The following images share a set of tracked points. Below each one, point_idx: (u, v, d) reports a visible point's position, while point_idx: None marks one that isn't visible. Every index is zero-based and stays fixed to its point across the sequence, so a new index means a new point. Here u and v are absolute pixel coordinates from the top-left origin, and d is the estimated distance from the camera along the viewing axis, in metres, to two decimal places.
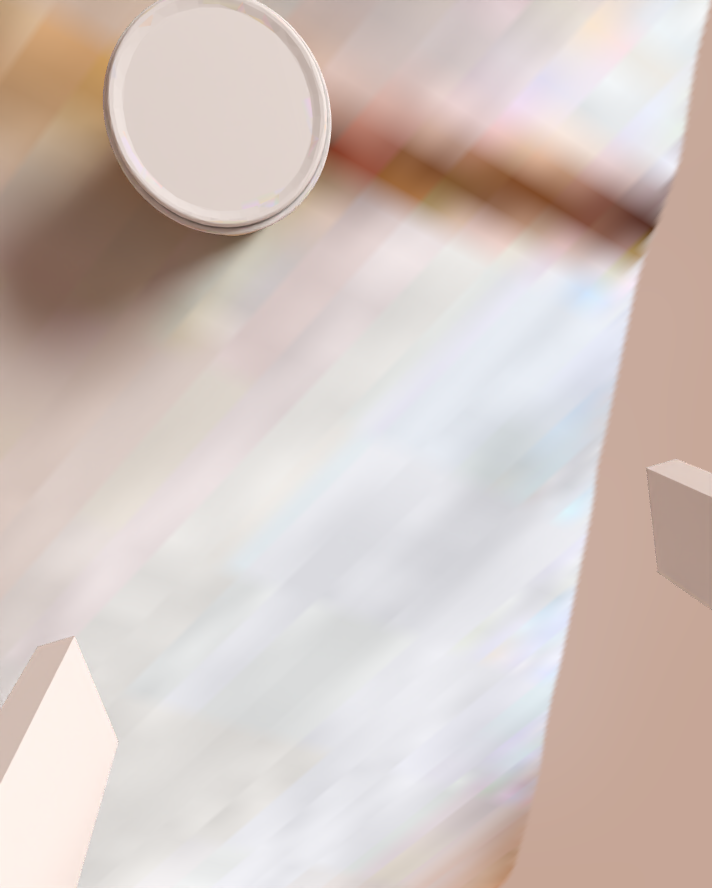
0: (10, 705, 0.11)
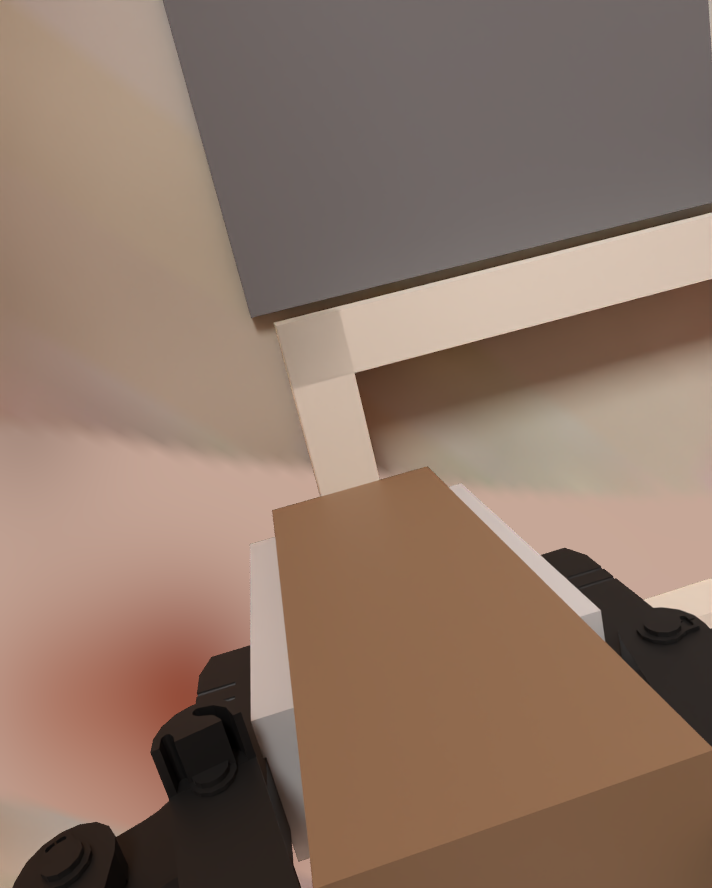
0: (257, 577, 0.13)
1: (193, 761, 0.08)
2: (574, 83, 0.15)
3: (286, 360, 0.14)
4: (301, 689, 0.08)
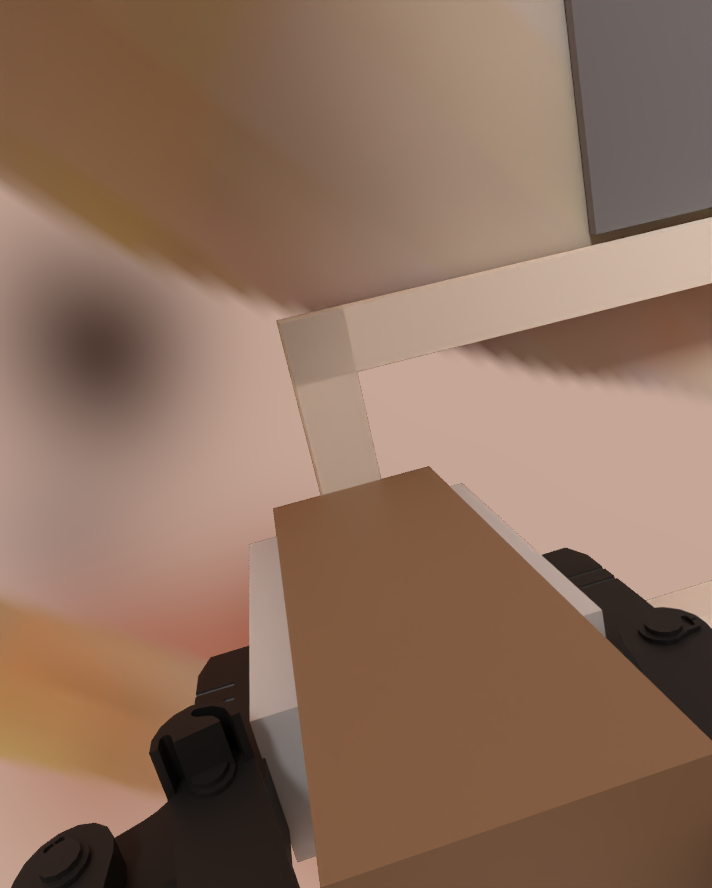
0: (256, 577, 0.13)
1: (191, 761, 0.08)
2: None
3: (289, 358, 0.14)
4: (305, 687, 0.08)
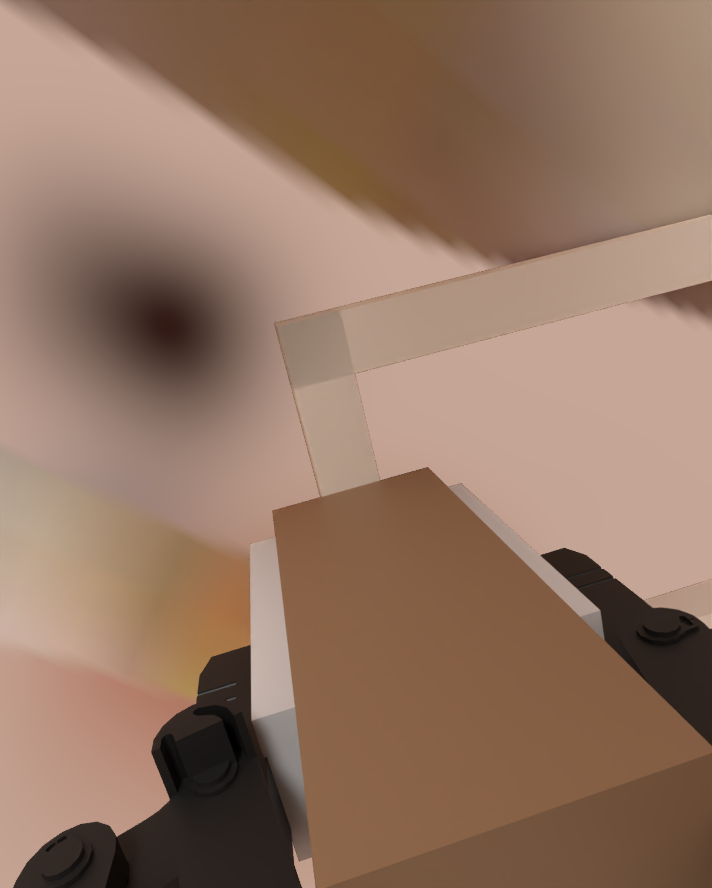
0: (257, 577, 0.13)
1: (193, 760, 0.08)
2: None
3: (287, 360, 0.14)
4: (302, 690, 0.08)
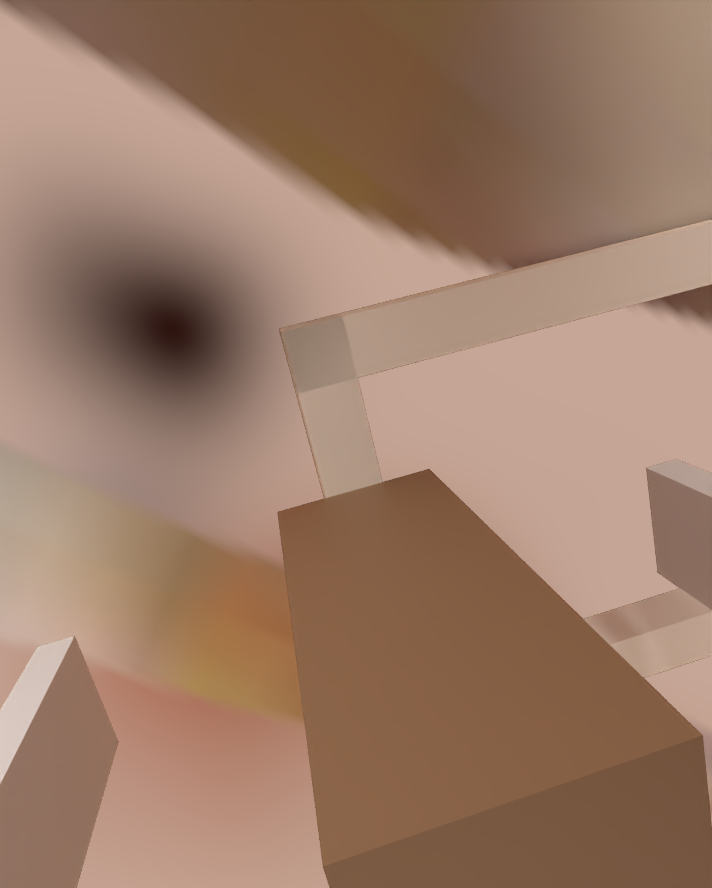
0: (10, 705, 0.11)
1: None
2: None
3: (291, 365, 0.15)
4: (309, 682, 0.09)
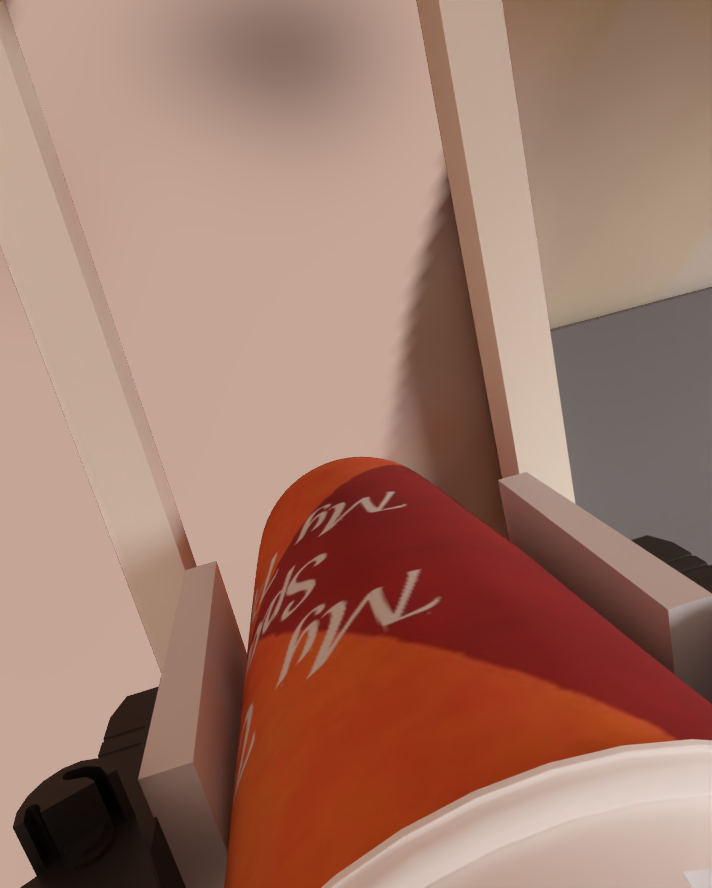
0: (183, 609, 0.13)
1: (63, 829, 0.08)
2: None
3: None
4: None
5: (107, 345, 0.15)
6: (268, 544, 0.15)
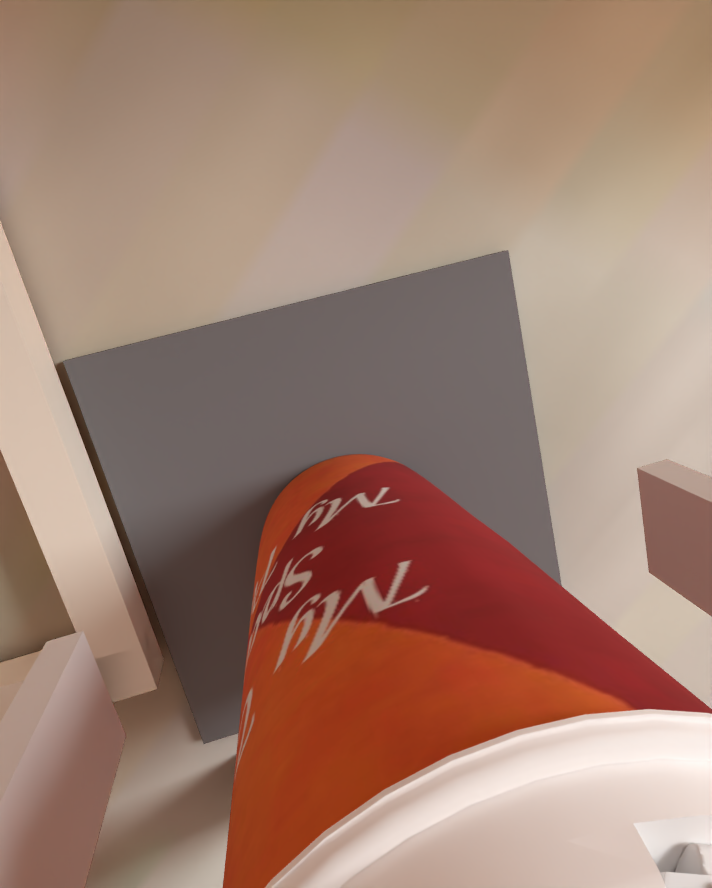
0: (21, 698, 0.11)
1: None
2: None
3: None
4: None
5: None
6: (268, 539, 0.16)
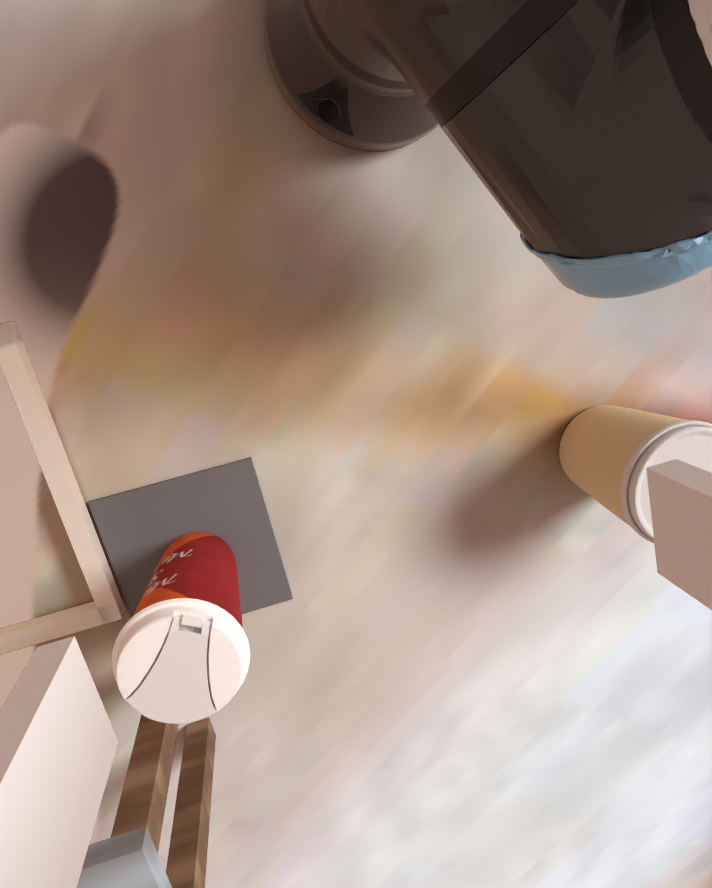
0: (10, 705, 0.11)
1: None
2: None
3: None
4: None
5: None
6: None
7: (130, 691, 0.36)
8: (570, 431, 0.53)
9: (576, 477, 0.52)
